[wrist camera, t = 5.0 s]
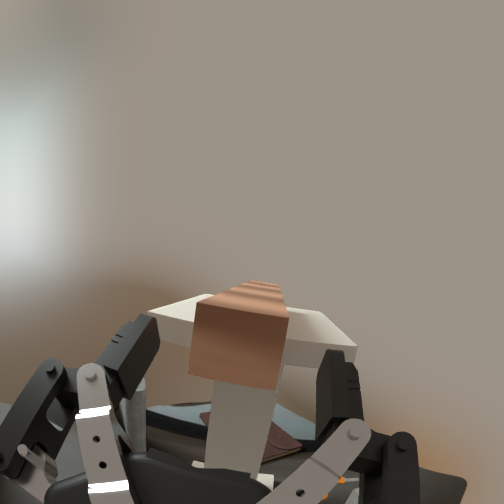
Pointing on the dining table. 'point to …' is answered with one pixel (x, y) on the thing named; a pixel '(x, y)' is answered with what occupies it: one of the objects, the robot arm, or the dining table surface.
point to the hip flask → (136, 417)
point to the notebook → (271, 441)
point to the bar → (240, 335)
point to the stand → (250, 398)
